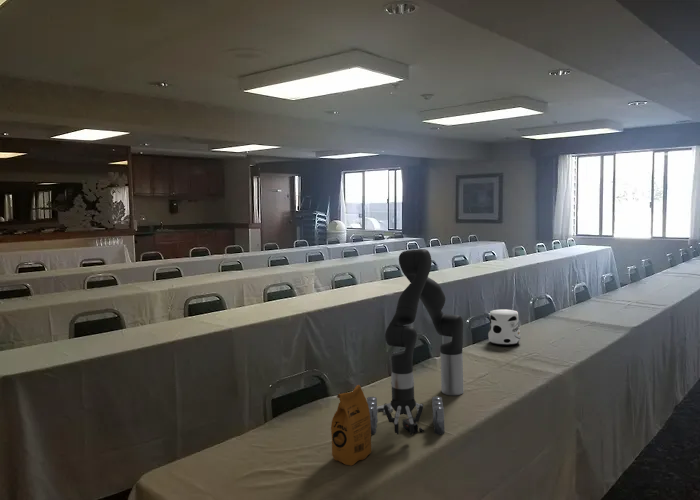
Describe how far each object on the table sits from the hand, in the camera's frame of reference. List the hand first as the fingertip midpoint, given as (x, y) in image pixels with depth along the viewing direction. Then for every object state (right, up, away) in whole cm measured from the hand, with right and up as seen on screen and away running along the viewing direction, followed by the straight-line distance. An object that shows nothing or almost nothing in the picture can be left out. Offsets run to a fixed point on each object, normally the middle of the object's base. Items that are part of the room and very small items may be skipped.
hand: (404, 433), depth 177 cm
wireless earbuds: (+4, -2, +9) cm, 10 cm away
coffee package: (-18, -5, -9) cm, 20 cm away
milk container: (+69, +9, +116) cm, 136 cm away
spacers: (+1, -2, +11) cm, 12 cm away
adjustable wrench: (+1, -1, +34) cm, 34 cm away
